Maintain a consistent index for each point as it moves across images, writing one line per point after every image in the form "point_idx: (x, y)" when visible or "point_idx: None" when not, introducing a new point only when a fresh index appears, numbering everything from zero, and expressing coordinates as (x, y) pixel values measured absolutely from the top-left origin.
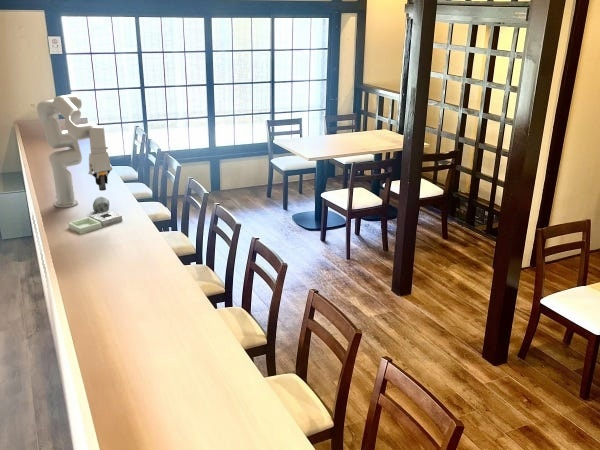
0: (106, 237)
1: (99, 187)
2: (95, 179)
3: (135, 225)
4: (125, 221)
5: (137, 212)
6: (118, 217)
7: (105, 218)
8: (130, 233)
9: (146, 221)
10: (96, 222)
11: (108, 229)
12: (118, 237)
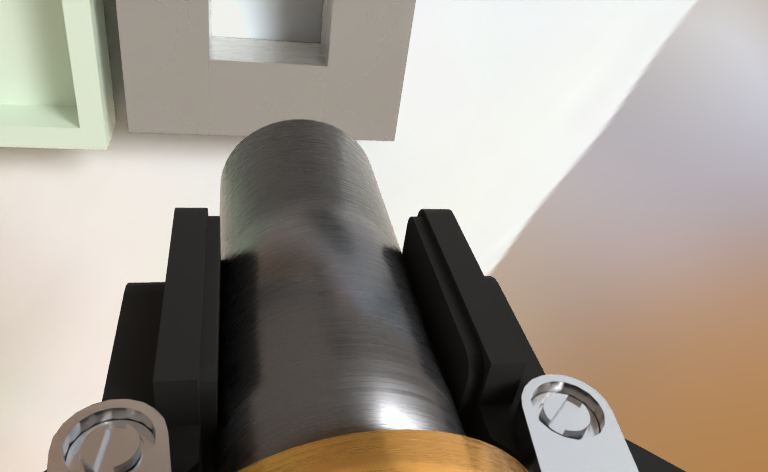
0: (34, 332)
1: (220, 226)
2: (109, 373)
3: None
4: (389, 148)
5: (646, 29)
6: (349, 135)
7: (211, 85)
8: None
9: (491, 266)
10: (75, 80)
11: (145, 204)
12: None
